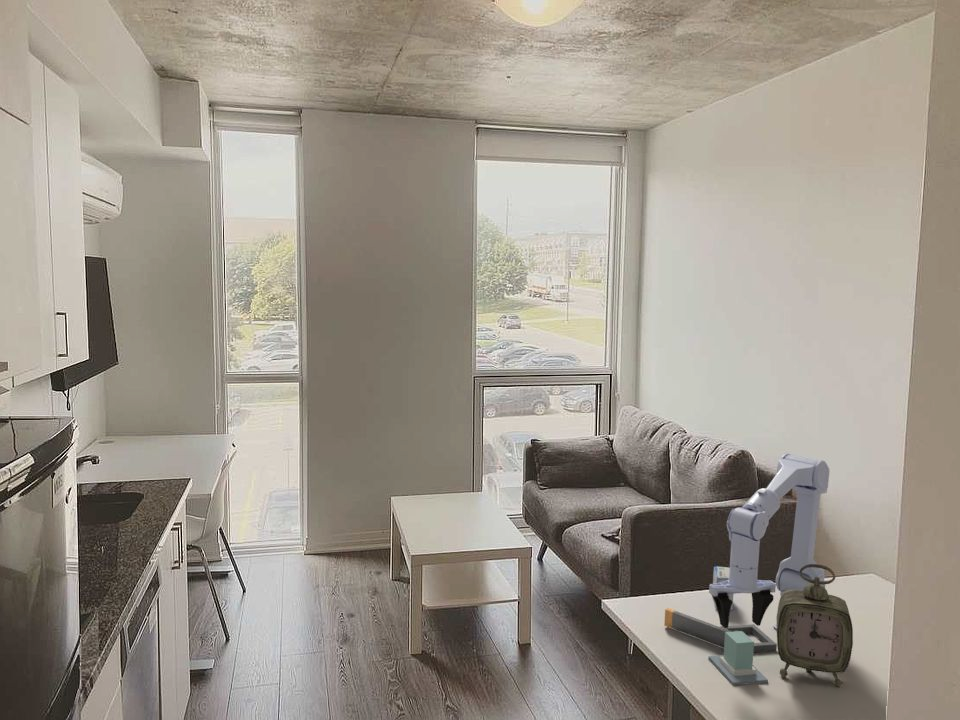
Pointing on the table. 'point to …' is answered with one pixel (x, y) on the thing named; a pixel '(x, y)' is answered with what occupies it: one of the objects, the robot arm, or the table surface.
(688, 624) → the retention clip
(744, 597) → the table surface
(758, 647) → the dock
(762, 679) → the mat
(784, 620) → the tabletop clock
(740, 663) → the plug
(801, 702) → the table surface
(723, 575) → the medicine box
